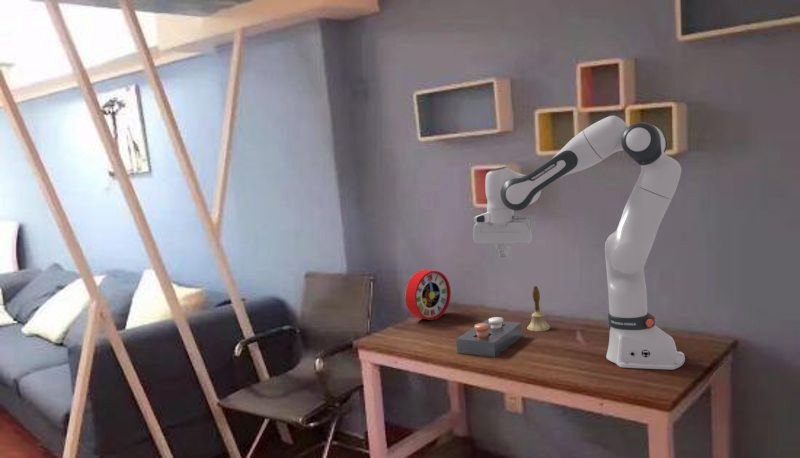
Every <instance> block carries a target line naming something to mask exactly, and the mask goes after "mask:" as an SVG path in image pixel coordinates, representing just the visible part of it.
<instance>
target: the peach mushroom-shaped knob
mask: <svg viewBox="0 0 800 458" xmlns="http://www.w3.org/2000/svg"><path fill="white" fill-rule="evenodd" d="M473 328H474V329H475V330H476V332H477V337H479V338H487V337H489V333H488V329H489V328H490V325H489V324H487V323H482V322H480V323H479V322H478V323H476V324H474V327H473Z"/></svg>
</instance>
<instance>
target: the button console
mask: <svg viewBox="0 0 800 458" xmlns="http://www.w3.org/2000/svg"><path fill="white" fill-rule="evenodd" d="M481 323H487V324H489V325H490V328H489V329H488V333H489V337H487V338H479V337H477V332H476V330H475V329H474V327H472V328H471V329H470V330H468V331H466V332H465V333H463V334H462V335H460V336H459V337H457V338H456V339H455V341H456V342H455V343H456V350H457V351H456V353H457V354H462V355H463V354H464V355H472V356H480V357H481V356H482V357H489V358H496V357H497V356H499V355H500V354H501V353H503V352H504V351H506V349H508V348H510V346H512V345H514V343H516V342H517V341H518V340H520V339H522V337H523V327H522V322H518V321H506V320H503V323H502V328H500V329H499V328H491V324H490V323H489V320H488V319H485V320H484V321H481Z"/></svg>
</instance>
